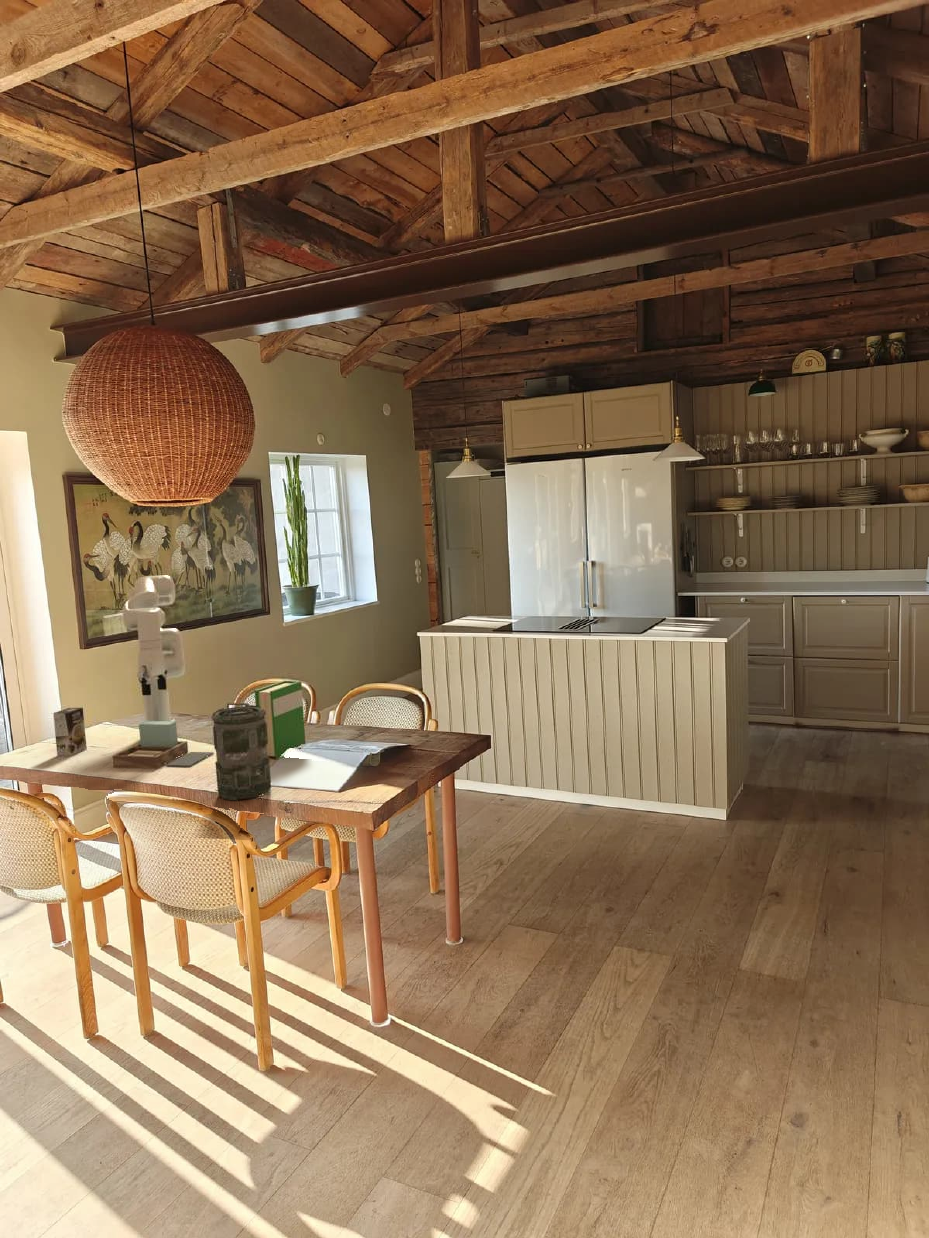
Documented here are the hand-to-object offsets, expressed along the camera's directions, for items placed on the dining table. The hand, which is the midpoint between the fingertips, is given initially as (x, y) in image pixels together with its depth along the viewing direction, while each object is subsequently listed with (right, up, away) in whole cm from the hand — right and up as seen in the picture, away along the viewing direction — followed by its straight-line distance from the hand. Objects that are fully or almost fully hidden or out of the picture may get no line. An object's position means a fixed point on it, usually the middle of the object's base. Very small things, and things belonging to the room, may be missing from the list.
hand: (154, 692), depth 309 cm
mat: (+14, -23, -5) cm, 28 cm away
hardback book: (+46, -22, +1) cm, 50 cm away
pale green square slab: (+1, -23, +3) cm, 23 cm away
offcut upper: (-1, -23, -5) cm, 24 cm away
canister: (+43, -27, -44) cm, 68 cm away
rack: (0, -24, -2) cm, 24 cm away
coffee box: (-35, -24, +12) cm, 44 cm away
